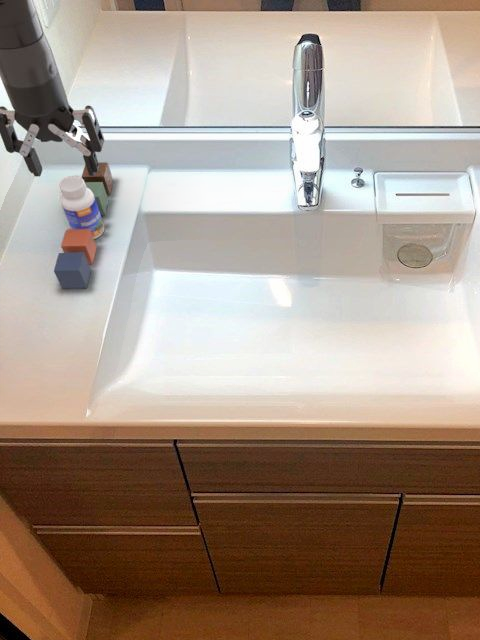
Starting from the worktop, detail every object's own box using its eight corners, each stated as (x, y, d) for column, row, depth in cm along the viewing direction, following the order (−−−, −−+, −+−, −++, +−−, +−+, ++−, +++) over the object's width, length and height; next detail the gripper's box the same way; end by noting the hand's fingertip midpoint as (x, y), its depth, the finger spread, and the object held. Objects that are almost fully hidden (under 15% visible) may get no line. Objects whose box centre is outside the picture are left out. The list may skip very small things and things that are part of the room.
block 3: (88, 195, 114) (81, 176, 111) (92, 181, 116) (85, 162, 113) (110, 195, 114) (104, 176, 111) (113, 181, 116) (107, 162, 113)
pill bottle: (90, 245, 107) (72, 198, 99) (67, 234, 108) (47, 187, 100) (111, 227, 109) (95, 179, 101) (88, 216, 111) (70, 168, 103)
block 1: (68, 264, 104) (60, 246, 101) (73, 247, 107) (65, 229, 103) (92, 264, 104) (85, 245, 101) (97, 247, 107) (90, 228, 103)
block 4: (82, 216, 111) (75, 197, 108) (86, 201, 113) (79, 182, 110) (105, 215, 111) (98, 196, 108) (108, 200, 113) (102, 181, 110)
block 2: (62, 288, 101) (53, 270, 98) (67, 270, 104) (58, 252, 100) (86, 288, 101) (79, 270, 98) (91, 270, 104) (83, 252, 100)
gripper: (86, 55, 87) (115, 158, 101) (-17, 56, 87) (26, 158, 101) (75, 85, 83) (107, 188, 97) (-33, 85, 83) (14, 188, 97)
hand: (66, 173), depth 99 cm, fingers open, 8 cm apart
